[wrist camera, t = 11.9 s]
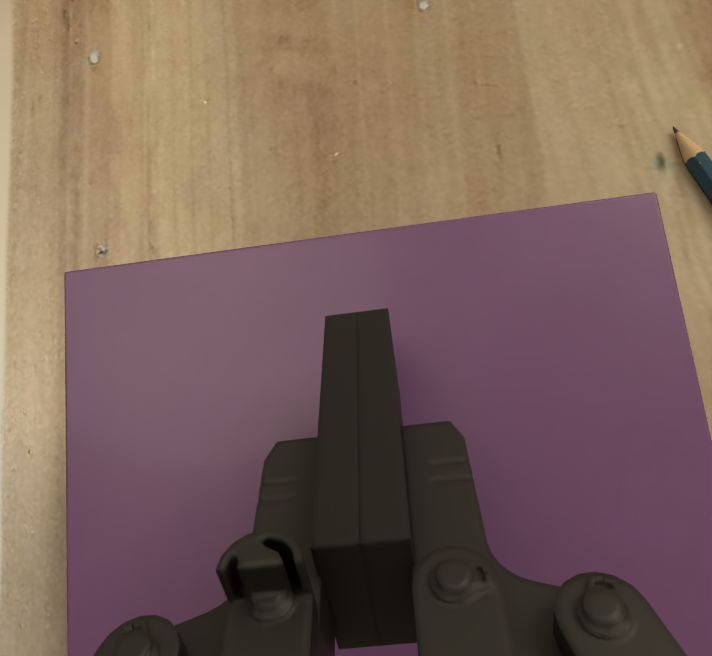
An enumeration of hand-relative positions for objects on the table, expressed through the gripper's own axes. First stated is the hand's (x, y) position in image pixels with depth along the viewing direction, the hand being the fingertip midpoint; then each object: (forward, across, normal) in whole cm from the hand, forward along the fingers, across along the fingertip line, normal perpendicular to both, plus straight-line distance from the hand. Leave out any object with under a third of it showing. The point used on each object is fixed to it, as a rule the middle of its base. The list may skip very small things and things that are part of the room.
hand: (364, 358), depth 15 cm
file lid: (-1, 0, -4) cm, 4 cm away
